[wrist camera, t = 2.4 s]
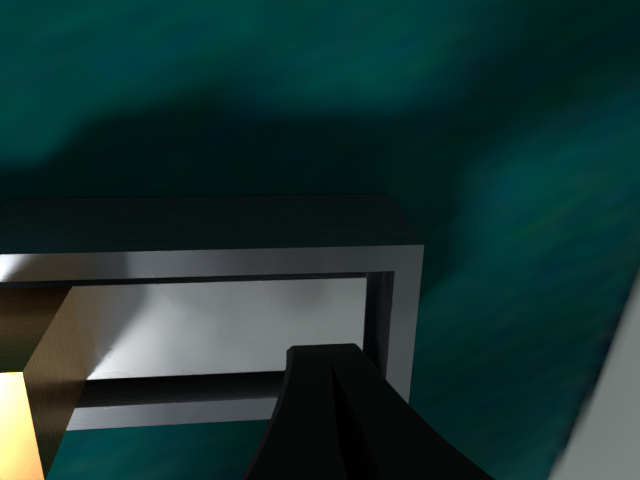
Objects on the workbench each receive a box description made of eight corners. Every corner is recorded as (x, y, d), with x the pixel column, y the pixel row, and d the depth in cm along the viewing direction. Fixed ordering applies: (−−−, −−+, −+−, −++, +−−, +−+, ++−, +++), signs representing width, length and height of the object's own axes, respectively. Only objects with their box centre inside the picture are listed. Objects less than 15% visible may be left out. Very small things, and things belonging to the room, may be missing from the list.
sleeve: (379, 335, 18) (407, 411, 14) (38, 349, 16) (-11, 434, 13) (389, 194, 16) (424, 244, 13) (9, 199, 15) (-54, 256, 12)
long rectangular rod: (348, 324, 16) (389, 460, 12) (-127, 341, 15) (-297, 504, 10) (352, 242, 15) (398, 355, 11) (-154, 254, 14) (-356, 388, 9)
